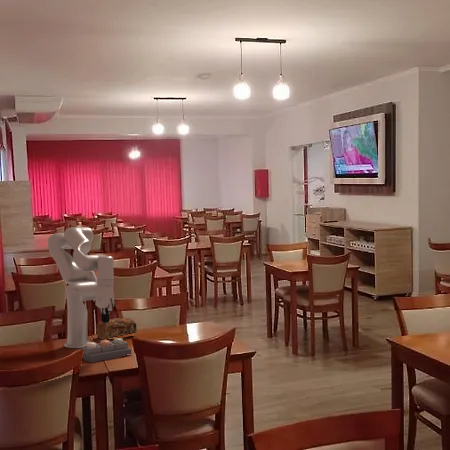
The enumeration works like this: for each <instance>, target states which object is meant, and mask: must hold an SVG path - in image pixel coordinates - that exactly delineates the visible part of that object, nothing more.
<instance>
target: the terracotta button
mask: <svg viewBox="0 0 450 450" xmlns="http://www.w3.org/2000/svg"><path fill="white" fill-rule="evenodd" d="M110 342H111V341H110V339H109V340H102V339H101V340H100V342H99V343H100V345H101V346H107V345H110Z"/></svg>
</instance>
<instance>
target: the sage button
mask: <svg viewBox="0 0 450 450" xmlns="http://www.w3.org/2000/svg"><path fill="white" fill-rule="evenodd" d="M123 339H124V338H115V339H114V340H113V341H114V343H115V344H119V343H123V341H124V340H123Z"/></svg>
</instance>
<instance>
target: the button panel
mask: <svg viewBox="0 0 450 450" xmlns="http://www.w3.org/2000/svg"><path fill="white" fill-rule="evenodd" d="M81 349H83V350H84V354H83V359H82V360H84V361H86V362H88V363H96V362H102V361H107V360H111V359H117V358H116V357H119V358H121V357H120V356H124V355H127V354H131V355H132V348H130V347H129V342H127V341H125V340H123V343H119V344H115V343H114V340H112V341H110V345H107V346H101V345H100V342H99V343H96V347H95V348H87V345H86V346H81V348H80V350H81ZM124 357H125V356H124Z"/></svg>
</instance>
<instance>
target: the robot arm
mask: <svg viewBox="0 0 450 450" xmlns="http://www.w3.org/2000/svg"><path fill="white" fill-rule="evenodd" d="M94 238H95V237H94V232H93V230H92V229H91V227H87V226H76V227H75V226H74V227H73V226H71V227H69V228H66V229H65V231H64V232H56V233H52V234H51V235H50V236H49V237H48V239H47V248H48V252H49V254H50V255H51V258H52V259H53V260H54V262H55V263H56V266H57V269H58V271H59V274H60V276H61V278H62V280H63V282H64V283H65V284H68V285H67V286H66V287H65V298H66V304H67V306H66V307H67V335H66V338H67V342H64V344H63V345H64V348H67V349H81V346H86V345H87V343H89V342H90V341H89V340H88V309H87V306H86V305H85V304H84V302H85V301H93V300H95V306H96V307H97V308H99V310H100V314H101V315H100V316H101V319H100V322H103V323H107V322H109V319H110V313H111V312H112V311H113V308H114V307H115V293H114V282H115V281H114V279H115V278H114V275H115V274H114V257H113V256H111V255H106V254H89V252H90V250H91V248H92V242H93V240H94ZM66 250H73V252H72V255H71V254H70V253H69V252H67V251H66ZM95 271H96V273H95Z"/></svg>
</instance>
